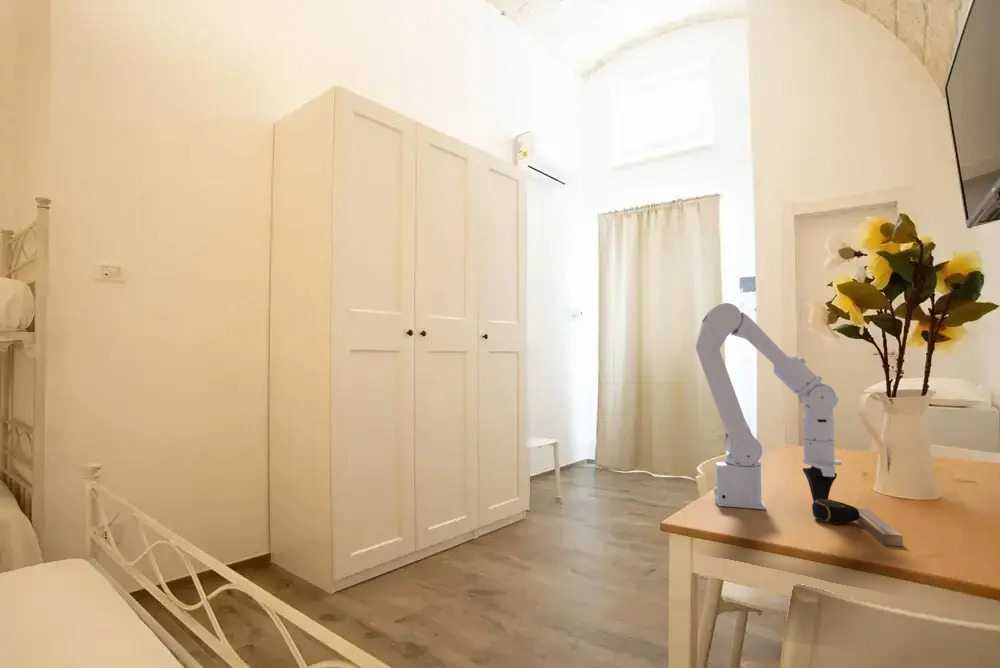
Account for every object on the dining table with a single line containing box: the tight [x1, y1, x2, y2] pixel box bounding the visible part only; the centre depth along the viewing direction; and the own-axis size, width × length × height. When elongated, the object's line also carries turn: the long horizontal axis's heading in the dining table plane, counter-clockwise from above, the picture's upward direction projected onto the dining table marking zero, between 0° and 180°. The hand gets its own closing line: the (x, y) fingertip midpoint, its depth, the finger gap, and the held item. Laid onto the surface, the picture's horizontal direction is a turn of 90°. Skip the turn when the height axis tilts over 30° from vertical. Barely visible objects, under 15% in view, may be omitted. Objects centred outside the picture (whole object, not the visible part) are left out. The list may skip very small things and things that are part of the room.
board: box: [855, 507, 904, 547], centre depth 100 cm, size 3×16×2 cm, turn 163°
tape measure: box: [811, 498, 859, 525], centre depth 106 cm, size 7×7×4 cm
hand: (820, 503), depth 113 cm, fingers closed
